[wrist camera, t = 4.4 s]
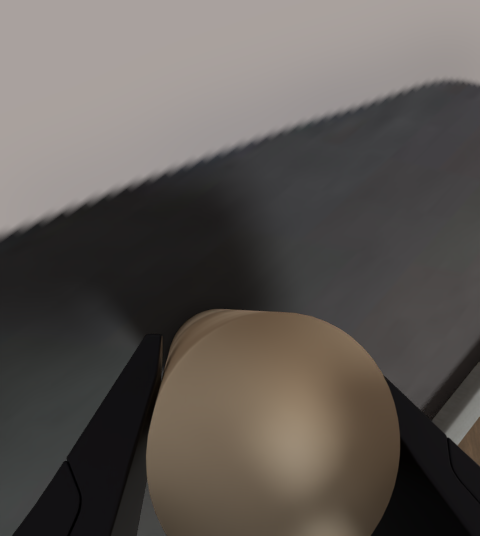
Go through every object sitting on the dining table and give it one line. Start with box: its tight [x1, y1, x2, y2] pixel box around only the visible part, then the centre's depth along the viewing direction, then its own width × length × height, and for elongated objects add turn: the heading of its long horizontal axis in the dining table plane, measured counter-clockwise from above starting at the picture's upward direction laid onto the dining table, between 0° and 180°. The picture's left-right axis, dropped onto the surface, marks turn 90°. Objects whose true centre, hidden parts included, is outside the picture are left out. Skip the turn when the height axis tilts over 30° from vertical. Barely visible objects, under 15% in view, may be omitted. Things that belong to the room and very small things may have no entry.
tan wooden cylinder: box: [146, 309, 400, 536], centre depth 11 cm, size 5×5×10 cm
